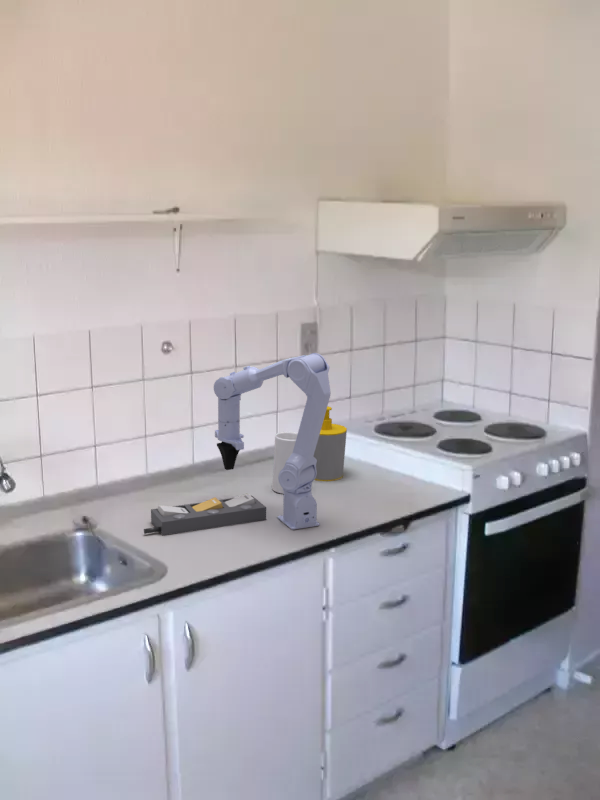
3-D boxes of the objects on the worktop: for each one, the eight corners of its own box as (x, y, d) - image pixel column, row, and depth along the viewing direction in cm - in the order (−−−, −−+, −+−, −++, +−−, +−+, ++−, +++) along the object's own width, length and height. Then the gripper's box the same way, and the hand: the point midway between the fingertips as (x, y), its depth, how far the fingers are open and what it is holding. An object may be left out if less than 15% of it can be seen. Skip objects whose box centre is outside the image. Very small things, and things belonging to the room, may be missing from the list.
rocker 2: (255, 503, 236) (253, 498, 236) (231, 512, 234) (229, 507, 234) (248, 497, 241) (247, 492, 240) (224, 507, 238) (223, 502, 238)
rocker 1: (188, 519, 229) (189, 513, 229) (162, 516, 226) (164, 510, 226) (182, 512, 233) (184, 507, 233) (157, 510, 230) (158, 504, 230)
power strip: (266, 519, 234) (266, 506, 233) (146, 537, 221) (146, 523, 220) (251, 507, 243) (251, 494, 242) (135, 524, 230) (135, 510, 229)
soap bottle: (300, 469, 277) (301, 402, 272) (342, 468, 279) (344, 402, 274) (305, 482, 265) (306, 412, 260) (349, 481, 266) (351, 412, 261)
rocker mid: (223, 507, 233) (221, 502, 232) (198, 517, 230) (196, 512, 230) (216, 501, 237) (215, 496, 236) (192, 511, 234) (190, 506, 234)
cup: (292, 496, 252) (295, 441, 249) (267, 490, 256) (269, 436, 252) (305, 488, 260) (309, 435, 256) (281, 482, 263) (283, 430, 260)
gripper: (254, 424, 235) (254, 474, 238) (231, 412, 247) (231, 460, 250) (229, 427, 231) (230, 478, 234) (207, 415, 244) (208, 463, 247)
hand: (229, 469), depth 242 cm, fingers closed
